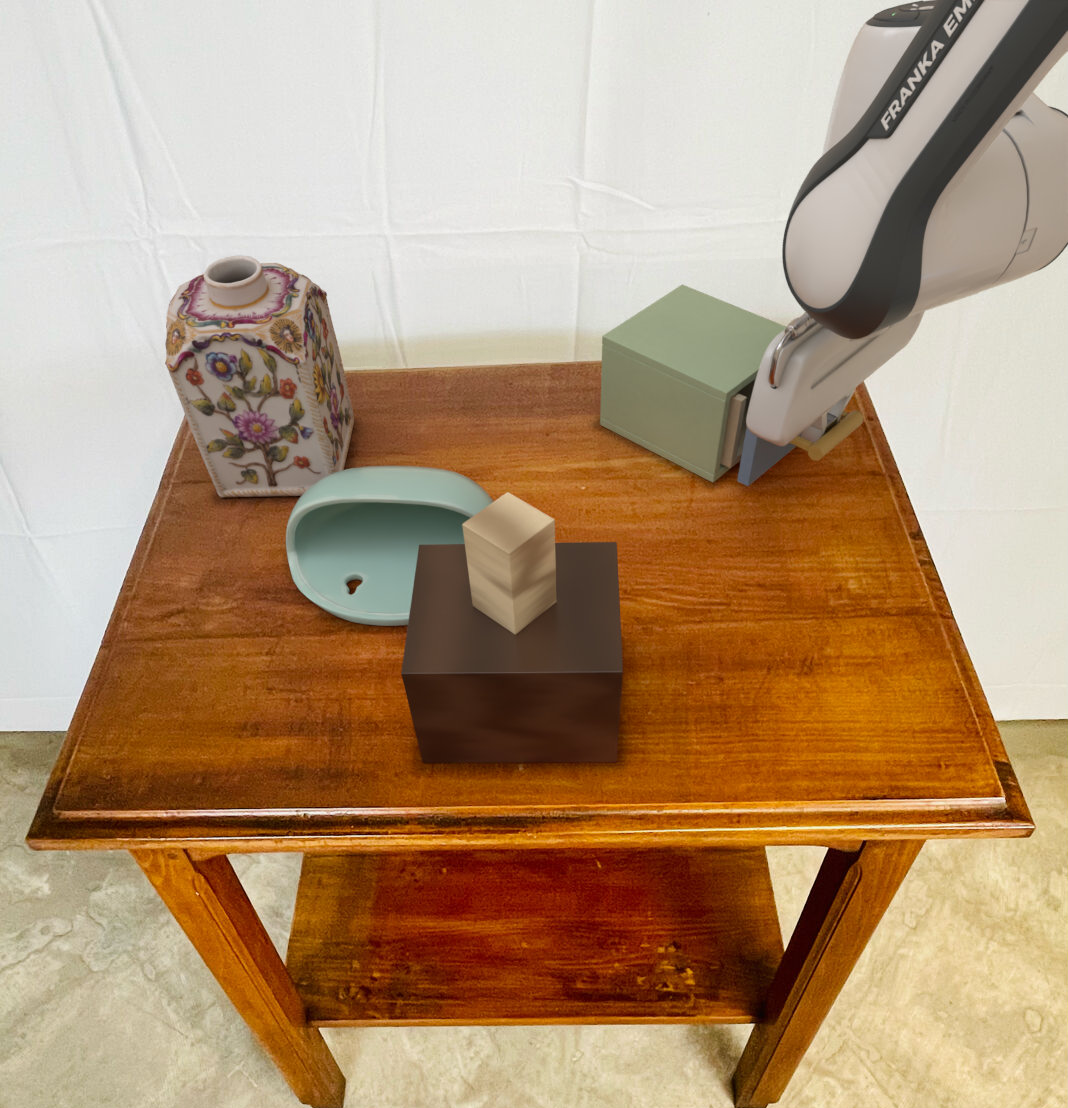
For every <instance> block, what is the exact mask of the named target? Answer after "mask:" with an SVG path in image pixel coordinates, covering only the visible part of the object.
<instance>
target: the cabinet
mask: <svg viewBox="0 0 1068 1108" xmlns="http://www.w3.org/2000/svg"><path fill="white" fill-rule="evenodd" d="M786 327H787V325H786V326H785V325H784V324H781V323H778V322H777V321H773V320H772V319H771V320H770V319H769V318H766V317H764V316H761V315H759V314H756V313H754V312H752V311H749V310H746V309H744V308H741V307H739V306H736V305H734V304H731V303H729V302H726V301H725V300H722V299H720V298H716V297H714V296H712V295H709V294H707V293H704V292H702V291H700V290H697V289H695V288H692V287H690V286H688V285H686V284H681V285H679V286H677V287H675V288H674V289H673V290H671V291H669V292H668V293H666V294H665V295H664V296H662V297H660V298H659V299H657V300H656V301H654V302H653V303H651V304H649V305H648V306H647V307H645V308H644V309H641V310H640V311H639V312H637V313H635V314H634V315H632V316H631V317H630V318H628V319H626V320H624V321H623V322H621V323H620V324H619V325H617V326H616V327H613V328H612V329H611V330H609V331H607V333H605V334H603V335H602V337H601V340H602V342H601V344H602V345H601V375H600V377H601V378H600V408H599V410H600V413H599V414H600V415H599V417H600V418H599V425H600V426H601V427H604V428H606V430H607V429H608V430H609V431H610V432H611V431H612V433H615V434H617V435H619V436H621V437H623V438H625V439H627V440H628V441H630V442H632V443H634V444H637V445H639V446H640V447H642V448H644V449H646V450H648V451H650V452H652V453H654V454H656V455H657V456H660V457H662V458H664V459H665V460H667V461H670V462H672V463H674V464H676V465H678V466H679V467H682V469H685V470H687V471H689V472H691V473H693V474H695V475H696V476H699V477H700V478H702V479H705V480H706V481H709V482H710V483H712V484H713V483H715V482H716V481H717V480H718V479H720V478H721V477H722V476H723V475H724V474H726V473H727V472H729V470H731V469H732V468H734V466H736V465H737V464H738V463H739V462H737V463H736V464H735V465H734V466H732V467H731V468H728V467H726V466H724V465H722V464H720V462H721V456H722V450H723V443H724V437H725V431H726V424H727V418H728V412H729V405H730V399H731V397H732V396H733V395H735V394H736V393H737V392H738V391H740V390H741V389H742V388H744V387H745V386H746V385H748V384H749V383H750V382H752V381H753V380H754V379H756V377H757V373H758V370H759V366H760V363H761V361H762V358H763V355H764V353H765V351H766V349H767V347H768V346H769V344H770V343H771V341H772V340H773V339H774V338H775V337H776V336H777V335H778V334H779V333H781V332H782V331H784V330H785V328H786Z"/></svg>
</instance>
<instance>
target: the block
mask: <svg viewBox="0 0 1068 1108" xmlns="http://www.w3.org/2000/svg"><path fill="white" fill-rule="evenodd" d="M493 501H494V502H493V503H491V504H490V505H488V506H487V507H486V508H484V509H483V510H481V511H480V512H479V513H477V514H476V515H474V516H473V517H471V518H470V519H469V520H467V521H466V522H464V523H463V524H462V526H463V534H464V542H465V550H466V557H467V565H468V573H469V581H470V588H471V596H472V604H473V606H474V607H475V608H477V609H478V610H480V611H481V612H483V613H484V614H486V615H487V616H488V617H490V618H491V619H493V620H494V621H496V622H497V623H499V624H500V625H502V626H503V627H505V628H506V629H508V630H509V631H511V632H512V633H514V634H515V635H516V634H517V633H518V632H520V631H521V630H522V629H523V628H524V627H526V626H527V625H528V624H529V623H531V622H532V621H533V620H534V619H536V618H537V617H538V616H539V615H541V614H542V613H543V612H544V611H546V610H547V609H548V608H549V607H551V606H552V605H553V604H554V603H556V557H555V543H556V520H555V518H553V517H551V516H550V515H548V514H546V513H544V512H543V511H541V510H540V509H538V508H536V507H534V506H532V505H531V504H530V503H528V502H526V501H524V500H523V499H521V498H519V497H517V496H516V495H514V494H512V493H510V492H509V491H506V492H505V493H504V494H502V495H500V496H499V497H498V498H497V499H496V500H493Z"/></svg>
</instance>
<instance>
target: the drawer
mask: <svg viewBox="0 0 1068 1108" xmlns="http://www.w3.org/2000/svg"><path fill="white" fill-rule="evenodd" d="M755 380H756V379H754V380H753V381H752V382H750V383H749V384H748V385H746V386H745V387H744V388H742V389H741V390H740V391H738V392H737V393H736V394H735V395H733V396H732V397H731V399H730V405H729V412H728V418H727V424H726V431H725V437H724V443H723V450H722V456H721V462H720V464H722V465H724V466H726V467H728V468H731V467H732V466H733V467H734V466H736V465H737V464H738V463H739V468H738V474H737V480H736V482H738V483H740V484H742V485H744V486H746V487H749V486H750V485H752V484H753V483H754V482H755V481H757V480H758V479H760V477H762V475H764V474H765V473H766V472H767V471H769V470H770V469H771V468H772V467H773V466H774V465H776V464H777V463H778V462H779V461H780V460H782V459H783V458H785V456H786V455H788V454H789V453H790V452H791V451H793V450H794V449H795V448H796V447H797V448H799V449H802V450H804V451H805V452H807V455H808V457H809V458H810V460H812V461H814V462H817V461H820V460H822V459H823V458H824V457H825V456H827V454H829V453H830V452H831V451H832V450H834V449H835V448H836V447H837V446H838V445H839V444H840V443H842V442H843V441H844V440H845V439H846V438H848V436H849V435H851V434H852V433H853V432H854V431H856V430H857V429H858V428H859V427H860V426H861V425H862V424H863V423H864V415H863V413H862V412H860V411H859V410H851V411H850V412H848V411H846V410H844V411H843V413H842V414H841V417H840V421H839V422H838V423H837V424H836V425H835V426H834V427H832V428H831V429H830V430H829V431H828V432H827V433H825V434H824V435H823V436H822V437H821V438H819V439H818V440H817V441H816V442H815V443H813V442H810V441H808V440H806V439H804V438H802V437H801V435H802V432H801V433H800V434H799V435H798V436H796V437H795V438H794V439H793V440H792V441H790V442H789V443H788V444H787V445H785V446H777V445H774V444H772V443H770V442H768V441H766V440H763V439H761V438H759V437H757V436H755V435H754V434H752V433H751V432H750V431H749V429H748V427H747V425H746V417H747V412H748V408H749V404H750V399H751V395H752V391H753V388H754V384H755ZM737 462H738V463H737ZM736 463H737V464H736ZM735 464H736V465H735ZM733 467H732V468H733ZM732 468H731V469H732Z"/></svg>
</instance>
